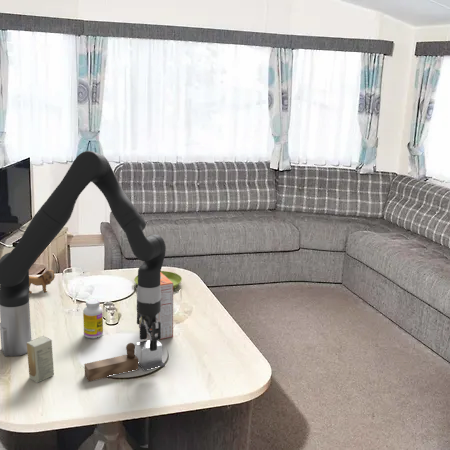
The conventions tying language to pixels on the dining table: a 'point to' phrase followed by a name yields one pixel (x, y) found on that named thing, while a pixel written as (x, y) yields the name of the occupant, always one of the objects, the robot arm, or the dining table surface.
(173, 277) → the saucer
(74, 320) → the dining table surface
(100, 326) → the supplement bottle
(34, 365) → the skincare box
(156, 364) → the rubber mat
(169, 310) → the cracker box
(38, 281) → the lion figurine
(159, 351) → the lever cap
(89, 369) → the body
